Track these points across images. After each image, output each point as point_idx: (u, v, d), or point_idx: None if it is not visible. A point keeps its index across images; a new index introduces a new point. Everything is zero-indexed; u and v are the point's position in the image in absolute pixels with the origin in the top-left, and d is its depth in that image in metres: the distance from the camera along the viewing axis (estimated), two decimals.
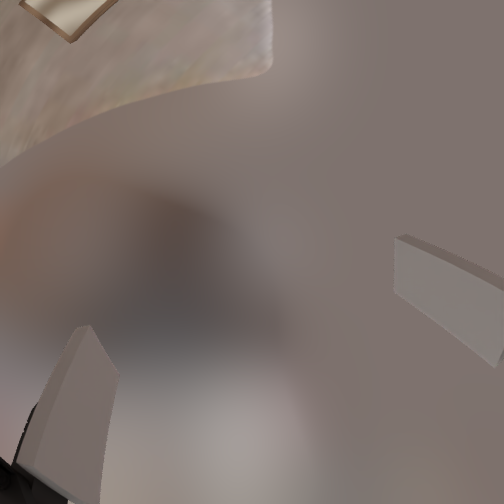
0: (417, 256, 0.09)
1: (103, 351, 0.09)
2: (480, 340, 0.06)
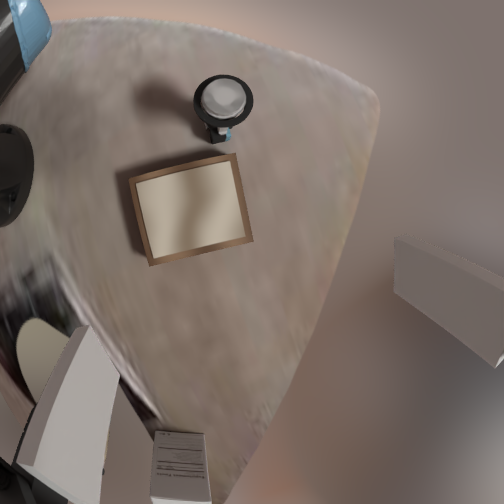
0: (417, 256, 0.09)
1: (103, 351, 0.09)
2: (480, 340, 0.06)
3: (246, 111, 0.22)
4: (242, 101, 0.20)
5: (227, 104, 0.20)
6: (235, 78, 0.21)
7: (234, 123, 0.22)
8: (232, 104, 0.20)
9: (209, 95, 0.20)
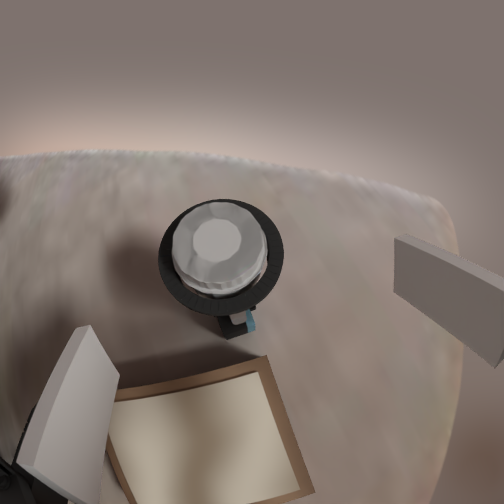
0: (416, 256, 0.09)
1: (103, 351, 0.09)
2: (480, 340, 0.06)
3: (272, 271, 0.11)
4: (258, 247, 0.10)
5: (225, 259, 0.10)
6: (239, 203, 0.12)
7: (249, 303, 0.10)
8: (236, 257, 0.10)
9: (184, 242, 0.10)
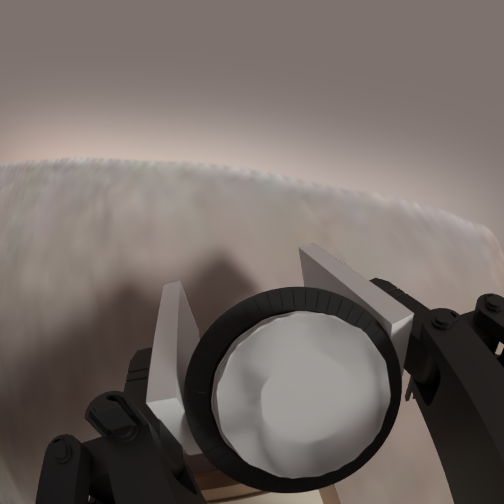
0: (313, 266, 0.11)
1: (189, 306, 0.11)
2: None
3: (384, 419, 0.05)
4: (382, 405, 0.04)
5: (326, 436, 0.04)
6: (328, 297, 0.06)
7: (349, 472, 0.04)
8: (346, 430, 0.04)
9: (242, 408, 0.04)
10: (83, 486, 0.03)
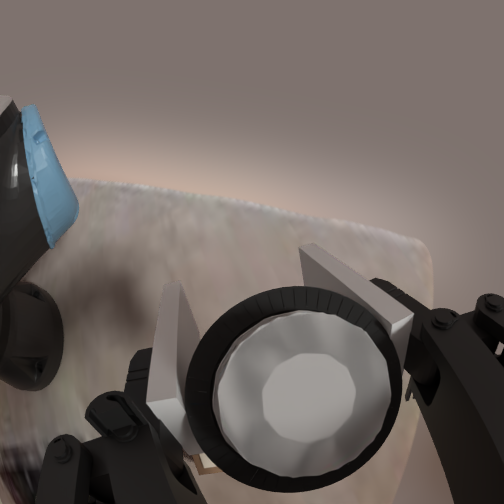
0: (313, 266, 0.11)
1: (189, 306, 0.11)
2: None
3: (385, 418, 0.05)
4: (383, 404, 0.04)
5: (327, 435, 0.04)
6: (329, 296, 0.06)
7: (350, 471, 0.04)
8: (347, 429, 0.04)
9: (244, 407, 0.04)
10: (83, 486, 0.03)
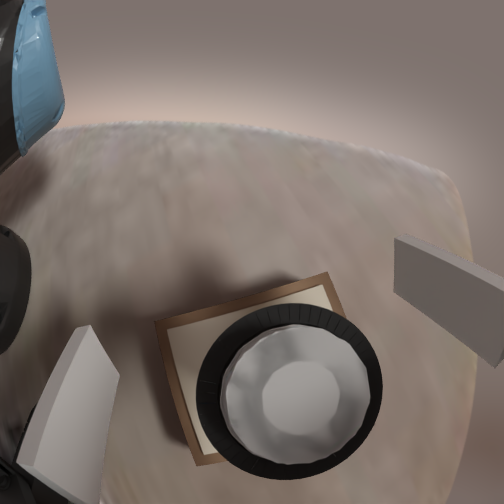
0: (417, 256, 0.09)
1: (103, 351, 0.09)
2: (480, 340, 0.06)
3: (367, 416, 0.06)
4: (363, 404, 0.05)
5: (316, 429, 0.05)
6: (319, 311, 0.08)
7: (337, 462, 0.06)
8: (333, 424, 0.05)
9: (247, 405, 0.06)
10: None
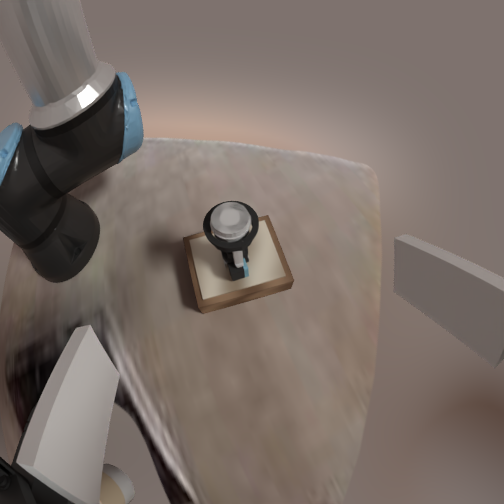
0: (417, 256, 0.09)
1: (103, 351, 0.09)
2: (480, 340, 0.06)
3: (253, 231, 0.25)
4: (247, 220, 0.25)
5: (233, 224, 0.24)
6: (239, 203, 0.27)
7: (243, 244, 0.25)
8: (238, 224, 0.25)
9: (216, 218, 0.25)
10: None
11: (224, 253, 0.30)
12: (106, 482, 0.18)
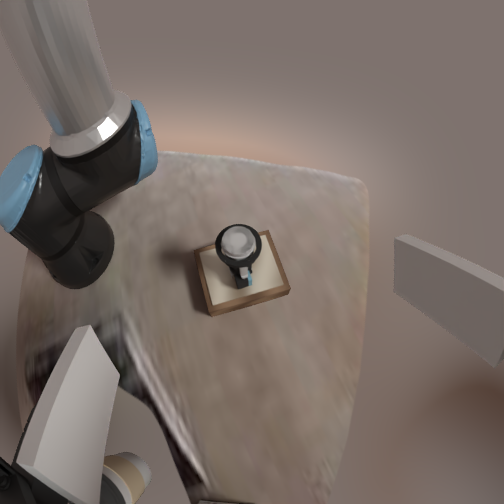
0: (417, 256, 0.09)
1: (103, 351, 0.09)
2: (480, 340, 0.06)
3: (257, 251, 0.31)
4: (252, 242, 0.30)
5: (241, 246, 0.30)
6: (245, 226, 0.32)
7: (249, 262, 0.30)
8: (244, 246, 0.30)
9: (226, 241, 0.30)
10: None
11: (231, 266, 0.35)
12: (129, 468, 0.24)
